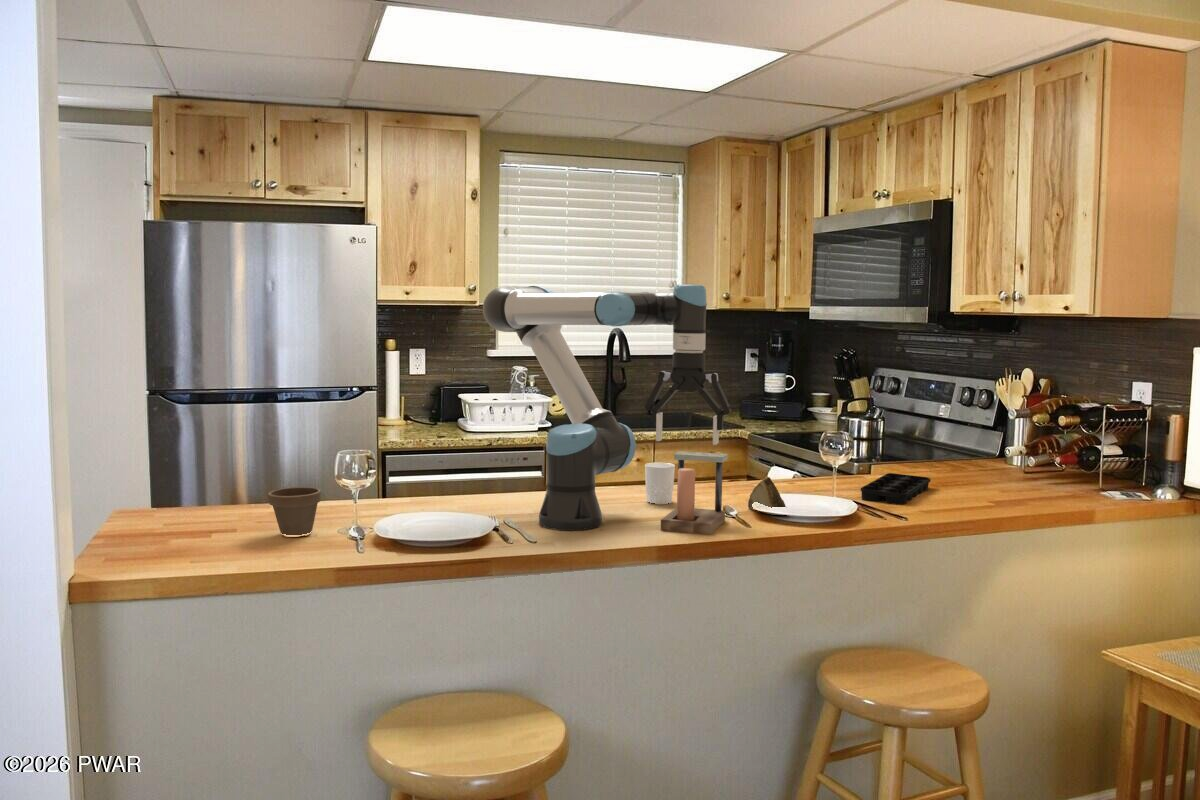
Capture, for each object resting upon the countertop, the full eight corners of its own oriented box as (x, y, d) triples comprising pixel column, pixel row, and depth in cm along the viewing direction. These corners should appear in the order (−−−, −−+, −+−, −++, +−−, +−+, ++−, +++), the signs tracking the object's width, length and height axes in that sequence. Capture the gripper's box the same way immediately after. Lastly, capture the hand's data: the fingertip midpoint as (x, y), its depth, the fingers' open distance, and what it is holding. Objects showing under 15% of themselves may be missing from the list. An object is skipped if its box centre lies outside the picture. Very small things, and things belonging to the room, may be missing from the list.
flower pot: (258, 535, 225) (257, 491, 224) (302, 526, 234) (301, 484, 233) (287, 543, 218) (286, 498, 217) (332, 534, 226) (331, 490, 225)
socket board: (660, 530, 233) (660, 519, 233) (677, 516, 247) (677, 506, 247) (711, 534, 229) (711, 523, 229) (724, 520, 243) (725, 510, 243)
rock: (736, 499, 258) (747, 502, 248) (755, 473, 258) (767, 474, 249) (769, 524, 259) (781, 528, 249) (787, 497, 259) (800, 500, 250)
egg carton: (930, 488, 290) (930, 475, 289) (927, 508, 262) (928, 494, 261) (867, 483, 296) (868, 471, 295) (858, 503, 267) (859, 489, 267)
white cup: (674, 499, 268) (675, 462, 267) (673, 505, 261) (674, 467, 260) (645, 498, 269) (645, 462, 268) (643, 504, 261) (644, 467, 260)
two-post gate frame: (673, 510, 243) (674, 454, 242) (678, 506, 248) (679, 451, 247) (721, 514, 239) (722, 457, 238) (725, 509, 244) (727, 454, 243)
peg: (675, 529, 234) (676, 470, 233) (679, 525, 238) (680, 467, 236) (691, 530, 233) (692, 471, 231) (695, 527, 237) (696, 468, 235)
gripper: (632, 350, 232) (631, 441, 234) (739, 354, 223) (736, 447, 226) (642, 349, 239) (640, 436, 241) (745, 352, 231) (743, 443, 233)
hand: (687, 442), depth 233 cm, fingers open, 13 cm apart
